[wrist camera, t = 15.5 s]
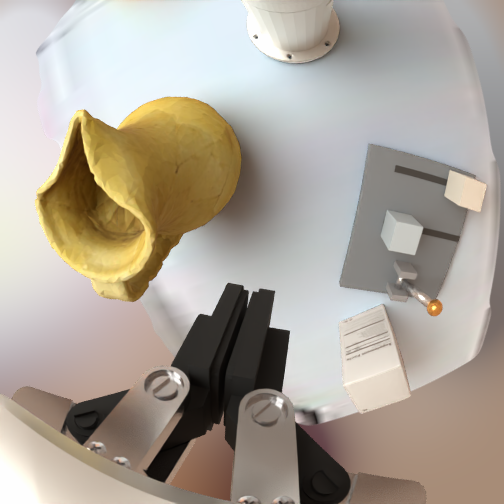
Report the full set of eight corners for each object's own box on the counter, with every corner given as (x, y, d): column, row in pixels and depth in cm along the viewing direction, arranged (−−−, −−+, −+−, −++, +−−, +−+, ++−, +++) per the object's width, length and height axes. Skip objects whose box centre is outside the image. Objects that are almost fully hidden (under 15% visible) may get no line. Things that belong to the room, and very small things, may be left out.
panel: (368, 143, 35) (377, 146, 30) (471, 173, 33) (487, 180, 28) (339, 281, 45) (341, 298, 40) (432, 295, 42) (441, 311, 38)
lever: (395, 272, 39) (439, 307, 31) (405, 270, 40) (447, 303, 32) (390, 286, 40) (432, 321, 32) (400, 283, 41) (441, 317, 33)
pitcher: (278, 137, 37) (209, 169, 15) (213, 235, 46) (123, 340, 24) (181, 79, 35) (43, 69, 14) (133, 178, 45) (14, 239, 23)
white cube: (386, 209, 36) (396, 221, 32) (411, 215, 36) (423, 227, 32) (380, 235, 38) (388, 250, 34) (404, 240, 38) (414, 255, 33)
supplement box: (396, 336, 47) (412, 397, 34) (353, 352, 50) (359, 415, 37) (383, 301, 45) (403, 365, 31) (337, 321, 48) (341, 386, 35)
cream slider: (449, 169, 32) (465, 176, 27) (469, 176, 31) (486, 184, 27) (443, 196, 34) (459, 205, 29) (464, 202, 33) (480, 212, 29)
